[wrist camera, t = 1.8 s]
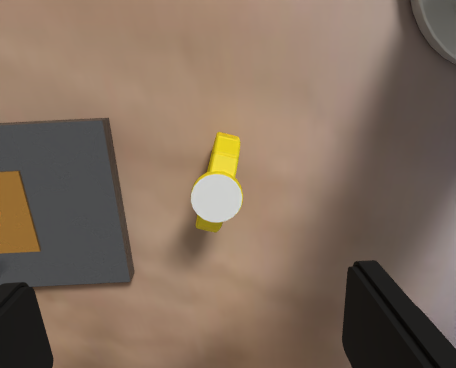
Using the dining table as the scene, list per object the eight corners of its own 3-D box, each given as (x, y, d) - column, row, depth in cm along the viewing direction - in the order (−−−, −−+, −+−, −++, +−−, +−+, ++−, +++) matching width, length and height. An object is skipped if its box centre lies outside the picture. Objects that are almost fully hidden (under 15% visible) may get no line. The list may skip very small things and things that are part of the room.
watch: (226, 212, 24) (227, 256, 18) (189, 204, 23) (179, 245, 18) (247, 133, 22) (257, 154, 16) (207, 123, 21) (202, 141, 16)
